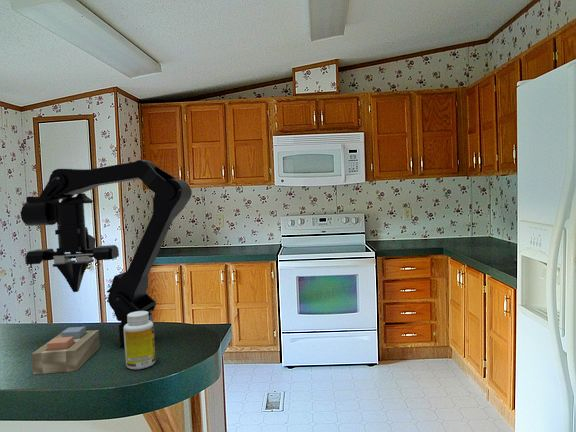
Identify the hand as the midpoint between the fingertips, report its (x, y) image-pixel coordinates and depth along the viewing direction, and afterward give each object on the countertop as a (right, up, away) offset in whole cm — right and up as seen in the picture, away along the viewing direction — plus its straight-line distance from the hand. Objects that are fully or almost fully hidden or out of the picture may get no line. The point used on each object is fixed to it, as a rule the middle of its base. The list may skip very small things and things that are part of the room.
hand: (76, 291), depth 99 cm
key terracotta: (+4, -10, -14) cm, 17 cm away
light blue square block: (+3, -10, -7) cm, 12 cm away
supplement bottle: (+20, -12, -15) cm, 28 cm away
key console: (+4, -12, -10) cm, 16 cm away
